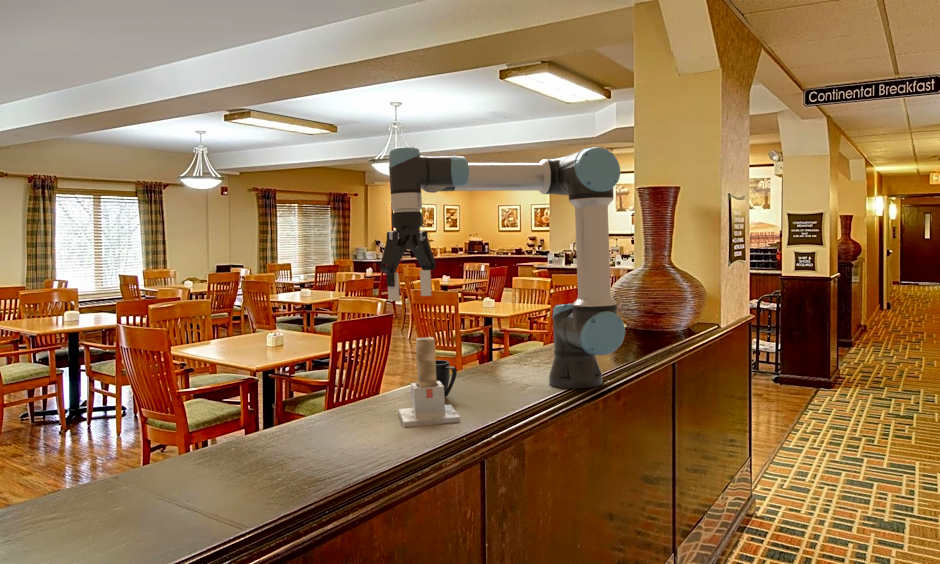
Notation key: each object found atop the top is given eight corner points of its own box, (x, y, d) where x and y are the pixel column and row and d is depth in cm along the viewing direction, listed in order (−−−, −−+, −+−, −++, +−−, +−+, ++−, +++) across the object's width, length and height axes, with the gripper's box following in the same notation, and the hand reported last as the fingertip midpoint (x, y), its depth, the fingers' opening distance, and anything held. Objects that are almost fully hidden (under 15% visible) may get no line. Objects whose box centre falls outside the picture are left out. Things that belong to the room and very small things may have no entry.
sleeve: (450, 409, 168) (449, 377, 168) (460, 421, 156) (458, 387, 155) (398, 413, 166) (397, 381, 165) (404, 427, 153) (402, 392, 153)
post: (436, 414, 163) (432, 336, 162) (439, 419, 159) (435, 339, 158) (418, 416, 162) (414, 338, 162) (420, 420, 158) (417, 340, 157)
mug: (444, 404, 174) (442, 367, 174) (414, 398, 183) (412, 363, 182) (466, 398, 180) (465, 362, 180) (436, 392, 189) (435, 358, 188)
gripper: (423, 213, 178) (426, 294, 179) (361, 211, 156) (366, 302, 157) (447, 211, 174) (450, 293, 175) (387, 209, 152) (392, 302, 153)
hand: (410, 298), depth 166 cm, fingers open, 13 cm apart
